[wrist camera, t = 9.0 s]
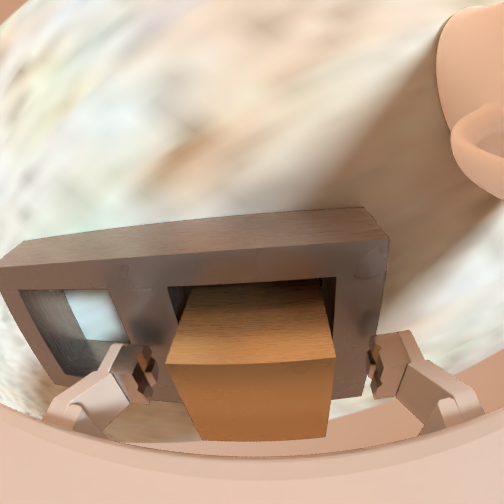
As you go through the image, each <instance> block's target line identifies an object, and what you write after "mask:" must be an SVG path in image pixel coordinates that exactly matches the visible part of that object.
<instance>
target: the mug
mask: <svg viewBox="0 0 504 504" xmlns="http://www.w3.org/2000/svg"><path fill="white" fill-rule="evenodd" d="M436 78H437V87H438V93H439V98H440V102H441V106H442V110H443V113H444V116H445V119H446V122H447V125H448V127H449V129H450V132H451V138H450V141H451V148H452V152H453V155H454V158H455V160H456V162H457V164H458V166H459V167H460V169H461V170H462V171H463V173H464V174H465V175H466V176H467V177H468V178H469V179H470V180H472V181H473V182H474V183H475V184H476V185H478V186H479V187H481V188H482V189H484V190H485V191H487V192H489V193H490V194H492V195H494V196H496V197H497V198H499V199H501V200H503V201H504V3H501V4H496V5H492V6H470V7H467V8H464V9H462V10H460V11H458V12H457V13H455V14H454V15H453V16H452V17H451V18H450V19H449V21H448V22H447V23H446V25H445V27H444V29H443V31H442V33H441V36H440V39H439V43H438V48H437V56H436Z"/></svg>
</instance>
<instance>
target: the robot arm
mask: <svg viewBox="0 0 504 504" xmlns="http://www.w3.org/2000/svg"><path fill="white" fill-rule="evenodd" d="M369 347H370V350H369V351H368V352H367V354H366V371H367V375H368V377H369V378H371V379H372V381H371V385H370V386H371V390H372V393H373V397H374V399H381V398H388V397H394V396H396V398H397V399H398V400H399V401H400V402H401V403H402V404H404V406H405V407H406V408H407V409H408V410H410V411H411V412H412V413H413V414H414V415H415V416H416V417H417V418H418V419H419V420H420V421H421V422H422V423H423V424H424V427H423V428H422V430H421V432H420V433H419V435H418V436H417V437H413V438H409V439H405V440H401V441H397V442H392V443H387V444H383V445H377V446H372V447H367V448H360V449H354V450H347V451H340V452H331V453H323V454H310V455H297V456H275V457H238V456H215V455H201V454H189V453H181V452H173V451H165V450H158V449H151V448H146V447H140V446H135V445H130V444H125V443H120V442H115V441H111V440H108V438H107V437H106V436H105V435H104V434H103V433H102V432H101V431H102V430H103V429H105V428H106V427H107V426H108V425H109V424H110V423H111V422H112V421H113V420H114V419H115V418H116V417H117V416H118V415H119V414H120V413H121V412H122V411H123V410H124V409H125V408H126V407H127V406H128V405H129V404H130V403H137V404H147V405H149V403H150V400H151V397H152V394H153V390H152V386H153V385H155V384H156V383H157V380H158V375H159V369H158V364H157V362H156V360H155V359H153V358H152V357H151V354H152V351H151V349H150V347H149V346H147V345H137V344H122V343H114V344H112V345H111V347H110V348H109V350H108V352H107V354H106V356H105V358H104V359H103V361H102V363H101V365H100V367H99V369H98V371H93V372H92V373H90V374H89V375H87V376H86V377H84V378H83V379H81V380H80V381H78V382H77V383H76V384H74V385H73V386H71V387H70V388H68V389H67V390H65V391H64V392H62V393H61V394H59V395H58V396H56V397H55V398H54V399H53V400H52V402H51V404H50V406H49V408H48V409H47V411H46V413H45V415H44V417H43V419H42V420H40V419H37V418H35V417H32V416H29V415H27V414H24V413H22V412H20V411H17V410H15V409H12V408H10V407H8V406H6V405H3V404H1V403H0V504H504V407H501V408H499V409H497V410H494V411H492V412H490V413H487V414H485V413H484V411H483V408H482V406H481V404H480V402H479V400H478V397H477V395H476V394H475V391H474V389H473V388H471V387H470V386H468V385H466V384H465V383H463V382H462V381H460V380H459V379H457V378H456V377H454V376H453V375H451V374H450V373H448V372H446V371H445V370H443V369H442V368H440V367H439V366H437V365H436V364H434V363H433V362H431V361H429V360H424V357H423V355H422V353H421V351H420V349H419V347H418V345H417V343H416V341H415V339H414V337H413V335H412V333H411V331H410V330H405V331H399V332H393V333H386V334H380V335H373V336H371V337H370V339H369Z"/></svg>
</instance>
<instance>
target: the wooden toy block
mask: <svg viewBox="0 0 504 504" xmlns="http://www.w3.org/2000/svg"><path fill="white" fill-rule="evenodd" d="M335 362H336V355H335V350H334V346H333V341H332V337H331V332H330V328H329V323H328V319H327V314H326V310H325V306H324V302H323V297H322V293H321V289H320V285H319V281H318V278H311V279H297V280H283V281H267V282H251V283H234V284H216V285H195V286H193V288H192V290H191V293H190V296H189V298H188V301H187V304H186V306H185V309H184V312H183V315H182V317H181V320H180V323H179V326H178V328H177V331H176V334H175V337H174V339H173V342H172V345H171V348H170V351H169V354H168V356H167V359H166V362H165V365H166V367H167V369H168V372H169V374H170V376H171V378H172V380H173V382H174V385H175V387H176V389H177V391H178V393H179V395H180V397H181V399H182V401H183V403H184V405H185V407H186V409H187V411H188V413H189V415H190V417H191V419H192V421H193V423H194V425H195V427H196V428H197V430H198V432H199V434H200V436H201V438H202V440H210V441H284V440H300V439H311V438H320V437H321V438H322V437H326V430H327V424H328V418H329V411H330V403H331V396H332V388H333V380H334V371H335Z"/></svg>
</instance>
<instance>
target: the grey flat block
mask: <svg viewBox="0 0 504 504" xmlns="http://www.w3.org/2000/svg"><path fill="white" fill-rule="evenodd" d="M388 248H389V238H388V236H387V235H386V234H385V233H384V231H383V230H382V229H381V228H380V226H379V225H378V224H377V223H376V221H375V220H374V219H373V218H372V217H371V215H370V214H369V213H368V212H367V211H366V209H365V208H364V207H355V208H336V209H319V210H303V211H288V212H275V213H262V214H249V215H237V216H226V217H215V218H204V219H194V220H184V221H174V222H165V223H156V224H147V225H138V226H130V227H122V228H114V229H106V230H98V231H90V232H83V233H76V234H68V235H61V236H55V237H48V238H41V239H35V240H28V241H23V242H22V243H21V244H19V245H18V246H17V247H15V248H14V249H13V250H11V251H10V252H9V253H8V254H6V255H5V256H4V257H3V258H2V259H0V292H1V294H2V296H3V298H4V301H5V303H6V305H7V306H8V308H9V310H10V312H11V314H12V316H13V318H14V320H15V322H16V323H17V325H18V327H19V329H20V331H21V332H22V334H23V336H24V337H25V339H26V341H27V342H28V344H29V346H30V347H31V349H32V351H33V352H34V354H35V355H36V357H37V358H38V360H39V362H40V363H41V365H42V366H43V368H44V369H45V370H46V372H47V373H48V375H49V376H50V378H51V379H52V380H53V382H54V383H55V384H58V385H62V386H67V387H71V386H73V385H74V384H76V383H77V382H78V381H80V380H81V379H83V378H84V377H86V376H87V375H89V374H90V373H92V372H93V371H98V369H99V367H100V365H101V363H102V361H103V359H104V358H105V356H106V354H107V352H108V350H109V348H110V347H111V345H112V344H114V343H122V344H137V345H147V346H149V347H150V349H151V351H152V354H151V357H152V358H153V359H155V360H156V362H157V364H158V369H159V375H158V380H157V383H156V384H155V385H153V386H152V390H153V394H152V397H151V400H155V401H166V402H179V403H183V401H182V399H181V397H180V395H179V393H178V391H177V389H176V387H175V385H174V382H173V380H172V378H171V376H170V374H169V372H168V369H167V367H166V365H165V362H166V359H167V356H168V354H169V351H170V348H171V345H172V342H173V339H174V337H175V334H176V331H177V328H178V326H179V323H180V320H181V317H182V315H183V312H184V309H185V306H186V304H187V301H188V298H189V296H190V293H191V290H192V288H193V286H195V285H216V284H234V283H251V282H267V281H283V280H297V279H311V278H322V297H323V302H324V306H325V310H326V314H327V319H328V323H329V328H330V332H331V337H332V341H333V346H334V350H335V355H336V362H335V371H334V380H333V388H332V396H331V400H334V399H342V398H350V397H357V396H362V392H363V388H364V384H365V380H366V376H367V371H366V354H367V352H368V351H369V350H370V347H369V339H370V337H371V336H373V335H376V330H377V325H378V320H379V314H380V308H381V302H382V295H383V289H384V281H385V274H386V266H387V257H388ZM62 289H109V292H110V295H111V297H112V300H113V302H114V305H115V307H116V310H117V312H118V314H119V317H120V319H121V322H122V324H123V326H124V329H125V331H126V333H127V335H128V338H129V340H130V342H131V343H125V342H109V341H96V340H86V338H85V336H84V334H83V332H82V331H81V329H80V327H79V325H78V323H77V321H76V319H75V316H74V314H73V312H72V310H71V308H70V306H69V304H68V302H67V299H66V297H65V295H64V293H63V290H62Z"/></svg>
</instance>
